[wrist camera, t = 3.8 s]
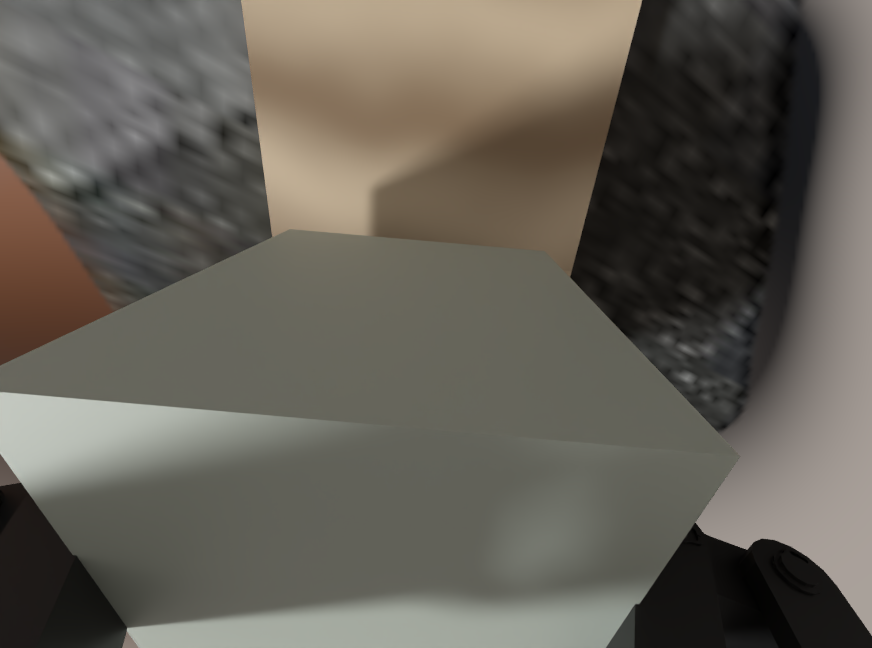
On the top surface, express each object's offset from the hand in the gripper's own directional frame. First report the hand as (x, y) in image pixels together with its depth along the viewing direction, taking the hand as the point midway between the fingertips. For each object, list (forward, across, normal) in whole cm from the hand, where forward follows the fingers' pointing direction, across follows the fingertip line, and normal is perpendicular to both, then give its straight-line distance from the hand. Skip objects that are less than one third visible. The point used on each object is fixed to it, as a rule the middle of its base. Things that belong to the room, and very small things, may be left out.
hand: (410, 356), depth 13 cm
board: (+5, 0, +3) cm, 6 cm away
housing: (0, 0, 0) cm, 0 cm away
